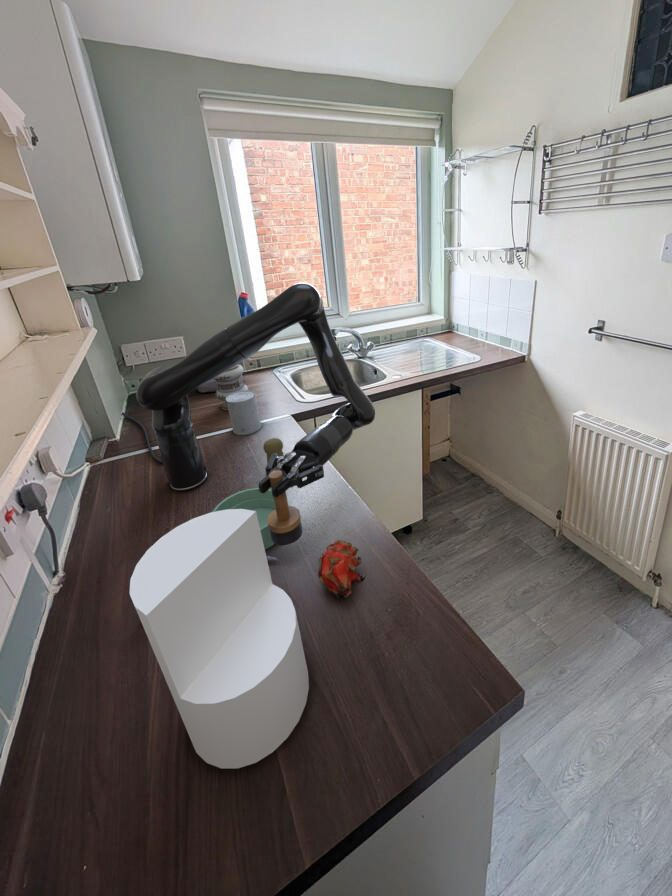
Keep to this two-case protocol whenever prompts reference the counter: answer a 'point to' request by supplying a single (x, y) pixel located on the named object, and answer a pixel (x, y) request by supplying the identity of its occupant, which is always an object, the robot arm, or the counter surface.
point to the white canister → (243, 412)
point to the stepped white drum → (223, 636)
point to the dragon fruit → (339, 568)
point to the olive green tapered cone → (273, 447)
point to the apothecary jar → (229, 383)
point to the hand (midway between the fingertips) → (267, 491)
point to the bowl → (253, 508)
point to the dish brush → (283, 517)
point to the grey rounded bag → (208, 386)
